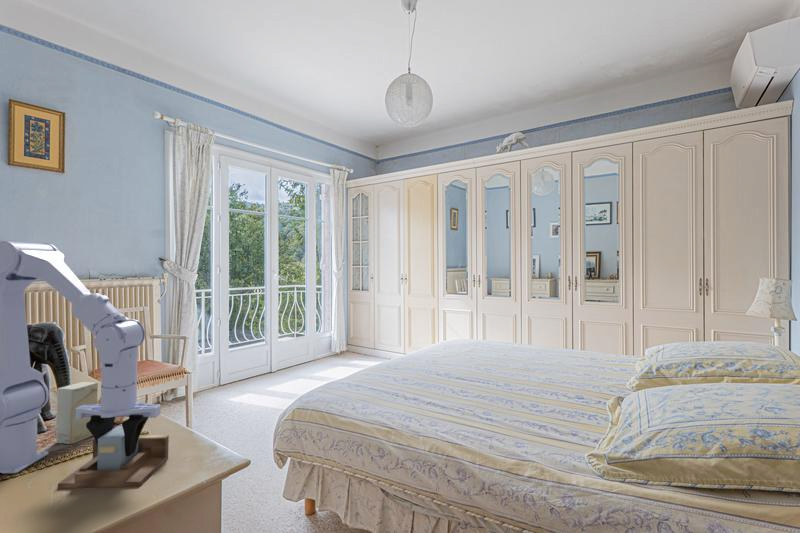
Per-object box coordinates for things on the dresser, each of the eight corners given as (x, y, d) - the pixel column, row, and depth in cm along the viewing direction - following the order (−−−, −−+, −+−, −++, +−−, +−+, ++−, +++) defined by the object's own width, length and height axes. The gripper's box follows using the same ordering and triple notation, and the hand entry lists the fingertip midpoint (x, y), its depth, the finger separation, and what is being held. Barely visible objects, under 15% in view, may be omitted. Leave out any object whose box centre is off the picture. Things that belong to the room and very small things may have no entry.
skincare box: (71, 445, 88) (72, 390, 88) (54, 443, 89) (55, 388, 89) (97, 433, 95) (98, 382, 95) (82, 431, 96) (83, 380, 95)
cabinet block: (94, 473, 74) (95, 440, 74) (117, 455, 81) (117, 425, 81) (117, 472, 74) (118, 440, 74) (138, 455, 81) (138, 425, 81)
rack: (57, 488, 72) (58, 460, 72) (96, 459, 82) (97, 435, 82) (140, 486, 73) (140, 459, 73) (168, 458, 83) (168, 434, 83)
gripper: (63, 390, 73) (62, 465, 73) (147, 390, 74) (146, 463, 74) (90, 379, 80) (88, 447, 80) (166, 379, 81) (165, 446, 81)
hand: (118, 454), depth 78 cm, fingers closed on cabinet block, 4 cm apart
